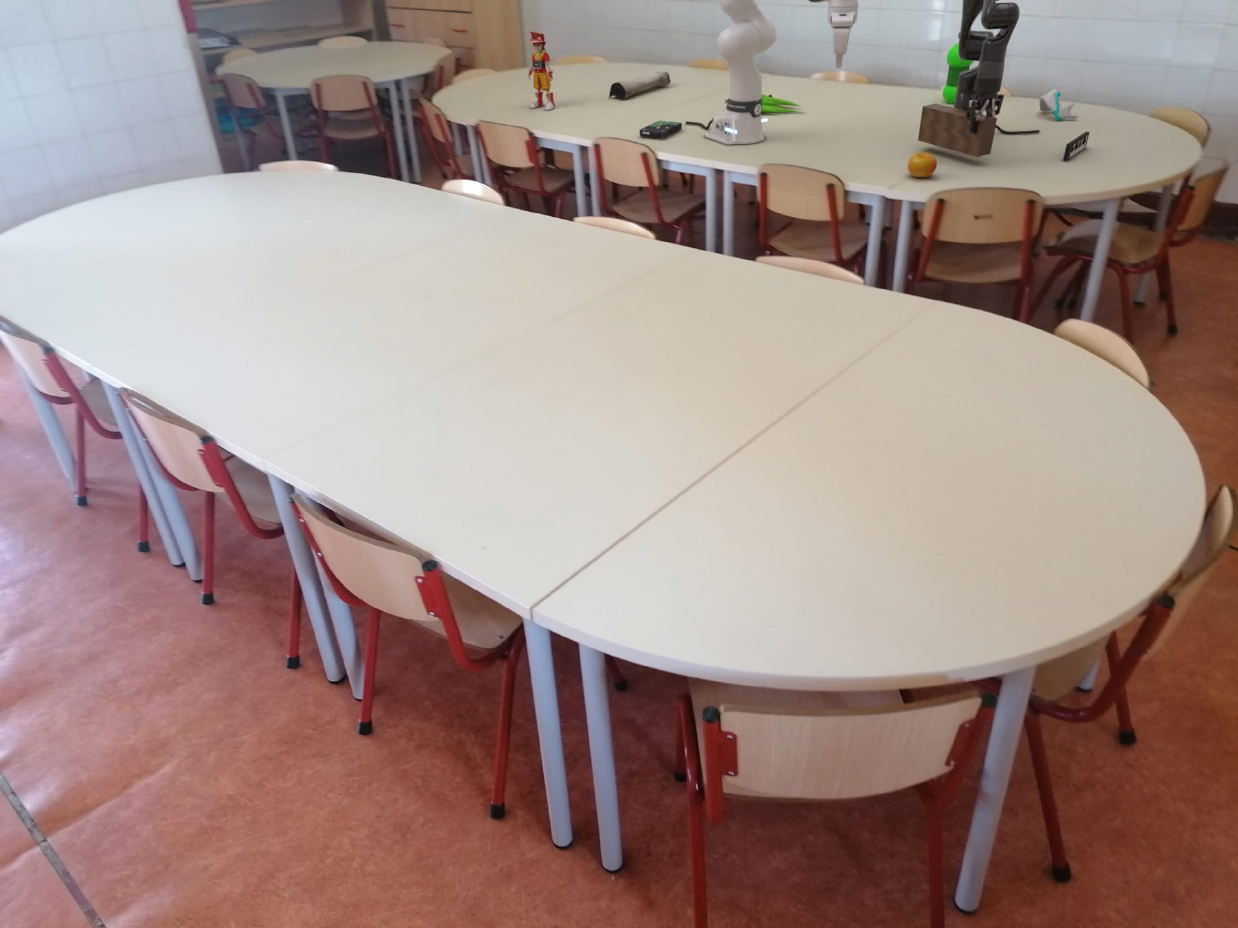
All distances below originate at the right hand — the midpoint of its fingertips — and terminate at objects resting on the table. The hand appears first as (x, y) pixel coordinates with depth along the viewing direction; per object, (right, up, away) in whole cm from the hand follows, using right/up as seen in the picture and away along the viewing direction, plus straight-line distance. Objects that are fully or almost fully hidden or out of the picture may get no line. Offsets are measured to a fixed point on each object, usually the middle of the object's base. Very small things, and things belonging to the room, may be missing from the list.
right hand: (980, 131), depth 285 cm
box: (-5, -1, +11) cm, 12 cm away
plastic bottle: (+18, +38, +70) cm, 82 cm away
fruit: (-20, -15, -2) cm, 25 cm away
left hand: (-46, +20, -2) cm, 50 cm away
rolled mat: (-105, +59, +112) cm, 165 cm away
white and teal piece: (+46, +23, +46) cm, 69 cm away
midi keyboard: (+34, -5, +8) cm, 35 cm away
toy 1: (-148, +47, +98) cm, 183 cm away
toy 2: (-55, +36, +75) cm, 100 cm away
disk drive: (-99, +19, +54) cm, 115 cm away
